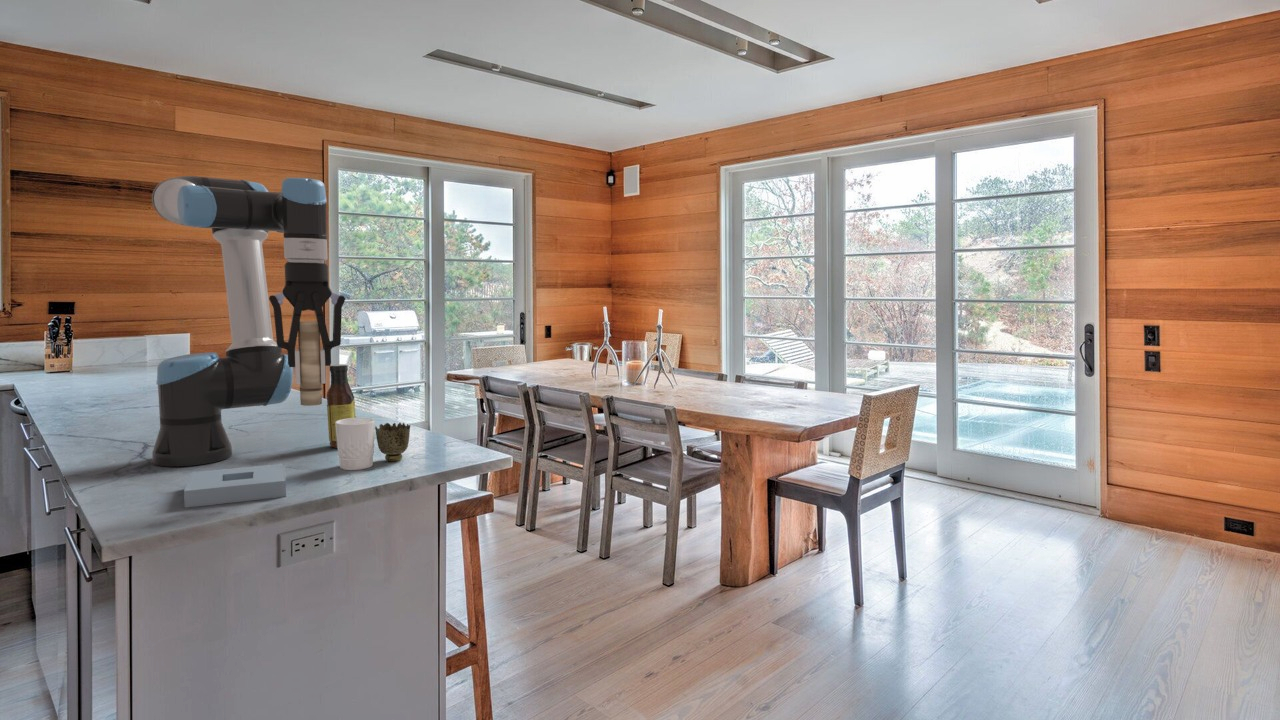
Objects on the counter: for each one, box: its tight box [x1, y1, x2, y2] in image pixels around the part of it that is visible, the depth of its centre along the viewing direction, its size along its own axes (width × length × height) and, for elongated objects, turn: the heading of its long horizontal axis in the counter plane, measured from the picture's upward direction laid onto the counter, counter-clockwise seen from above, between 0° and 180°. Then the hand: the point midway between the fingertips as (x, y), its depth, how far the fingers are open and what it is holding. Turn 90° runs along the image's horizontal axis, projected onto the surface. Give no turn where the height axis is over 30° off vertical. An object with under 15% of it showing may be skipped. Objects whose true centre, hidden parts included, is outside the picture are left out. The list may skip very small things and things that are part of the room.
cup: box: [374, 422, 411, 463], centre depth 161 cm, size 8×7×8 cm
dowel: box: [297, 320, 323, 407], centre depth 139 cm, size 4×4×16 cm
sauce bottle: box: [326, 363, 356, 449], centre depth 174 cm, size 7×6×20 cm
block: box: [183, 463, 287, 509], centre depth 136 cm, size 14×16×3 cm
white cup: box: [335, 417, 376, 471], centre depth 156 cm, size 8×8×10 cm
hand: (310, 383), depth 140 cm, fingers closed on dowel, 4 cm apart
